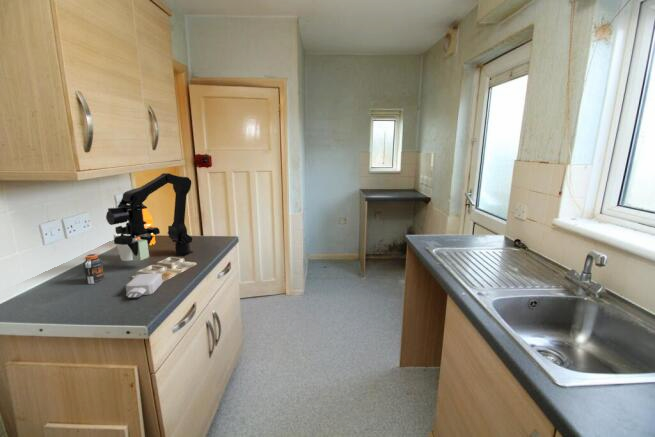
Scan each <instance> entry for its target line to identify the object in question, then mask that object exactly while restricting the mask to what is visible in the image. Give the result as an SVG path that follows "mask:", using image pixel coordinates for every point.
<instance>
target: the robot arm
mask: <svg viewBox="0 0 655 437" xmlns="http://www.w3.org/2000/svg"><path fill="white" fill-rule="evenodd" d="M167 184H170V185H172V190H173V191H174V193H175V199H174V200H175V201H174V209H173V211H174V213H173V222H172V224H171V225H168V227H167V228H168V231H167V235H168V237H169V239H171V241H172V242H173V243H174V244H175V248H174V249H175V253H173V255H175V256H181V257H182V256H183V257H184V256H187V255H189V254H191V253H193V250H191V247H190V243H192V242H193V237H192V236H190V235H189V234H188V229H187V226H186V224H185V221H186V220H185V218H186V208H187V207H186V206H187V204H186V203H187V196H188V193H190V191H191V187H192V179H190V178H189V177H187V176H182V175H181V176H179V175H174V174H172V173H170V172H169V173H168V172H167V173H166V172H162V174H160V175H159V176H157V177H155V178H154V179H152V180H151V181H149V182H147V183H145V184H143V185H141V186H140V187H136V188H132V189H130V190H127V191H125V192H124V193H123V194H122V198H121V200H120V202H119V204H118V205H117V207H110V208H109V207H108V208H107V212H106V215H105V219H106V221H107V223H108V224H109V225H111V226H114V225H118V224H123V223H125V226H122V225H119V226H116V227H115V229H114V230H115V233H117V234H121V236H118V237H115V238H114V237H113V243H114V244H115V245H116V244H121V245H126V244H127V245H128V246H129V247H130V249H131V250H132V252H133V253H134V255H135V256H137V254H138V241H135V238H138V237H140V239H142V240H147V243H148V248H149V247H150V246H149V244H150V242H151V240H152V238H153V237H154V236H152V234H151V233H153V234H154V235H155V236H156V235H159V234H160V233H161V232H160V229H159V227H155V226H153V227H148V228H145V226H144V224H146V221H144V219H143V211H142V209H148V207H147V206H146V205H145V204H144V202H145V201H146V200H147V199H148V197H149V196H150V195H151V194H153V193H155V192H156V191H158V190H159V189H161V188H162V187H164V186H166V185H167ZM124 234H127V235H129V234H130V236H127V235H124Z"/></svg>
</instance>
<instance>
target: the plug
mask: <svg viewBox="0 0 655 437" xmlns="http://www.w3.org/2000/svg"><path fill="white" fill-rule="evenodd" d="M135 241H138V254H137V256H135V255H134V253H133V252H132V256H133V260H136V261H142V260H145V259H148V258H150V252H149V247H148V243H147V240H142V239H138V240H135Z"/></svg>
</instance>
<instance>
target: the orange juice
mask: <svg viewBox="0 0 655 437" xmlns="http://www.w3.org/2000/svg"><path fill="white" fill-rule="evenodd" d="M142 211H143V219H144V221H146V224H144V226H145V228H148V227H154V220H153V218H152V216H151V214H150V212H149V211H148V208H146V209H142ZM151 234H152V236H154V237H153V238H152V240H151V242H150V244H149V245H150V246H153V245H155V243H156V235H154V234H153V233H151ZM138 239H140V237H138V238H137V240H138ZM152 244H153V245H152Z"/></svg>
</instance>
